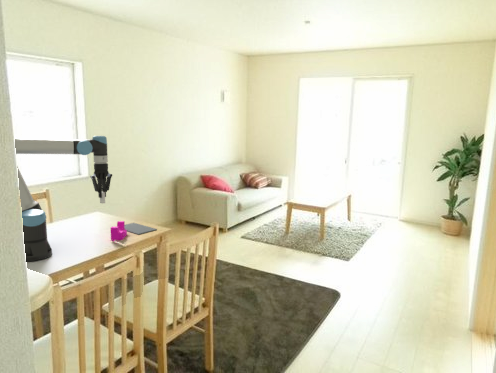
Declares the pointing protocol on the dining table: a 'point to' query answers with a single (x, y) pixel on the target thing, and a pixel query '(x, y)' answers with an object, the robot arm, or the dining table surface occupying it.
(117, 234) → the magenta bearing cap
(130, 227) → the pad
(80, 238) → the dining table surface
